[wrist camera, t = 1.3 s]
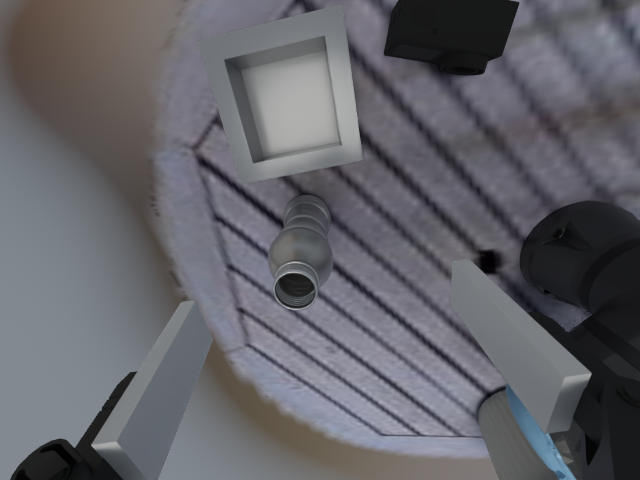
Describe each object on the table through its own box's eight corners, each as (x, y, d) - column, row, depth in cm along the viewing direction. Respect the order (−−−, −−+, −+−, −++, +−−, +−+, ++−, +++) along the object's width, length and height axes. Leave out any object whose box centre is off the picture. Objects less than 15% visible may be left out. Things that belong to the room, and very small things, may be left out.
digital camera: (380, 66, 33) (393, 53, 27) (390, 10, 31) (408, -19, 25) (464, 80, 34) (497, 70, 27) (480, 26, 31) (521, 1, 25)
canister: (476, 370, 52) (566, 518, 33) (571, 376, 52) (717, 526, 33) (451, 432, 59) (514, 584, 40) (535, 437, 59) (638, 590, 40)
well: (356, 153, 37) (362, 160, 31) (255, 173, 38) (241, 184, 32) (338, 27, 32) (342, 4, 25) (221, 56, 33) (196, 40, 26)
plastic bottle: (323, 185, 39) (322, 243, 20) (335, 228, 41) (345, 315, 23) (279, 198, 40) (240, 264, 21) (294, 240, 42) (271, 332, 24)
